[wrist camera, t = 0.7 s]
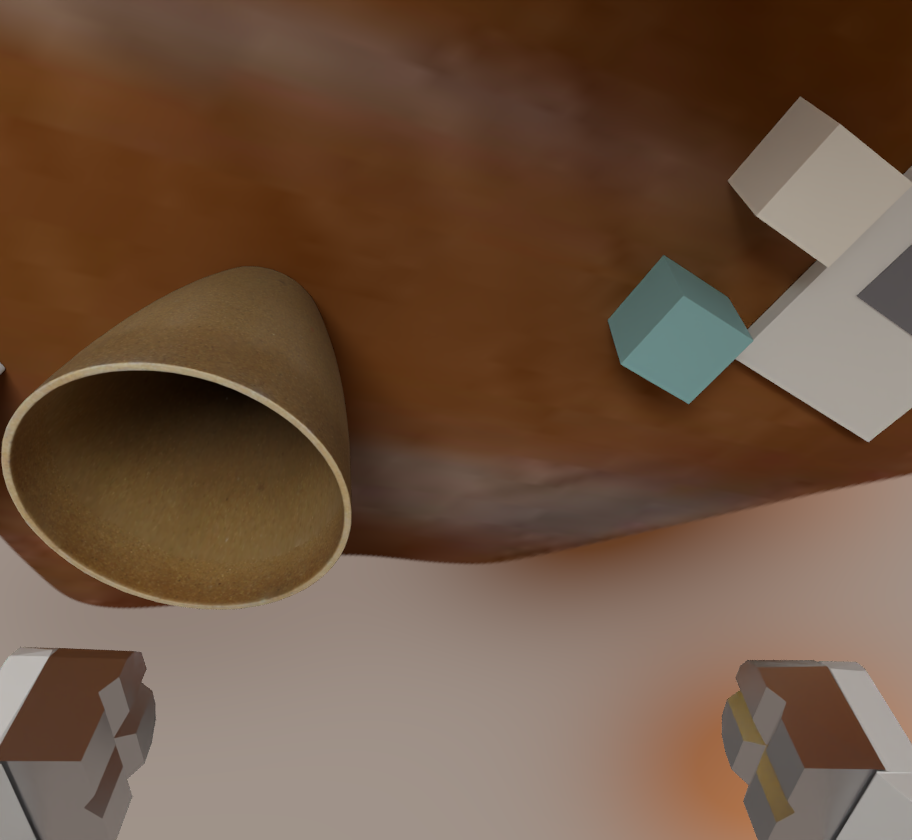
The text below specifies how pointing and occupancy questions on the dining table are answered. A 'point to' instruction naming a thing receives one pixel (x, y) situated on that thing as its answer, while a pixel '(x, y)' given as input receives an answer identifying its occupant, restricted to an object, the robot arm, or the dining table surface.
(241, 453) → the plant pot
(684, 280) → the teal block
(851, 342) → the white flat board
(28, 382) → the dining table surface
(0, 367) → the light bulb box
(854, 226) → the off-white block
